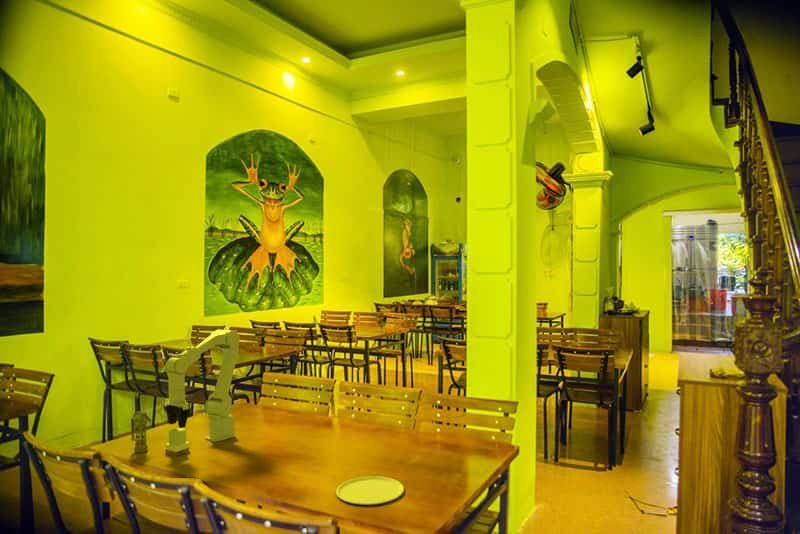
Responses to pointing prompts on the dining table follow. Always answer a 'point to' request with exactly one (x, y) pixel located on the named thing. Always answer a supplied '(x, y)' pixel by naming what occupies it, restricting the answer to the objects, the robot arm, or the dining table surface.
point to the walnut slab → (176, 452)
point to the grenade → (139, 431)
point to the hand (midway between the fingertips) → (177, 425)
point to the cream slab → (177, 447)
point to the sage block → (177, 436)
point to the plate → (370, 490)
